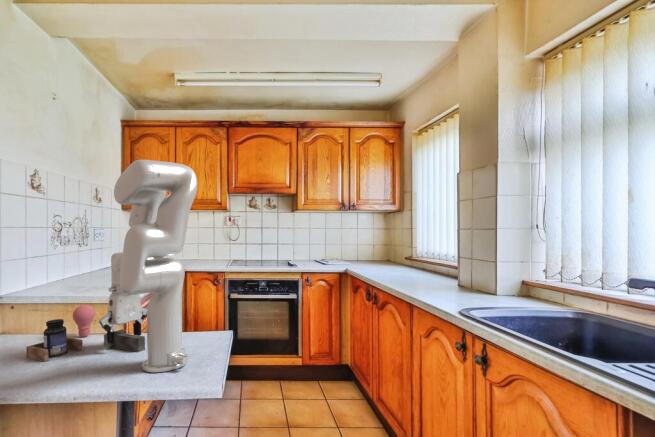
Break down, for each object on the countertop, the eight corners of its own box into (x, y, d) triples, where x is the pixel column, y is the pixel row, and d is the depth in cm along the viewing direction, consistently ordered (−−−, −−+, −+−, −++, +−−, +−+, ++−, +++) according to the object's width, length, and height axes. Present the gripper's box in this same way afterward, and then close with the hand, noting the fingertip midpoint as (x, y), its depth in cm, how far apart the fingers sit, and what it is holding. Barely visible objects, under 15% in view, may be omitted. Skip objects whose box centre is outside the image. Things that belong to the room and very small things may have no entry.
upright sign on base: (150, 347, 130) (150, 333, 130) (132, 354, 123) (132, 338, 124) (122, 343, 136) (122, 329, 136) (104, 349, 129) (103, 334, 129)
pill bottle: (70, 351, 128) (70, 318, 128) (59, 357, 122) (59, 322, 122) (51, 351, 128) (51, 318, 128) (39, 358, 122) (38, 323, 122)
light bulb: (85, 339, 140) (84, 307, 140) (68, 339, 141) (67, 307, 142) (99, 334, 147) (99, 303, 147) (83, 333, 148) (82, 302, 149)
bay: (82, 350, 128) (82, 339, 129) (44, 361, 118) (44, 350, 118) (64, 346, 133) (64, 336, 133) (26, 357, 122) (26, 346, 122)
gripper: (107, 293, 121) (107, 348, 121) (153, 285, 136) (154, 333, 136) (92, 292, 124) (92, 345, 124) (138, 284, 140) (139, 331, 139)
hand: (124, 338), depth 130 cm, fingers open, 9 cm apart
